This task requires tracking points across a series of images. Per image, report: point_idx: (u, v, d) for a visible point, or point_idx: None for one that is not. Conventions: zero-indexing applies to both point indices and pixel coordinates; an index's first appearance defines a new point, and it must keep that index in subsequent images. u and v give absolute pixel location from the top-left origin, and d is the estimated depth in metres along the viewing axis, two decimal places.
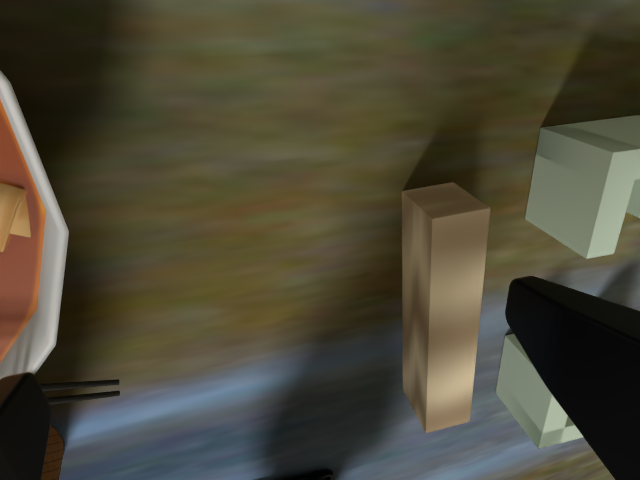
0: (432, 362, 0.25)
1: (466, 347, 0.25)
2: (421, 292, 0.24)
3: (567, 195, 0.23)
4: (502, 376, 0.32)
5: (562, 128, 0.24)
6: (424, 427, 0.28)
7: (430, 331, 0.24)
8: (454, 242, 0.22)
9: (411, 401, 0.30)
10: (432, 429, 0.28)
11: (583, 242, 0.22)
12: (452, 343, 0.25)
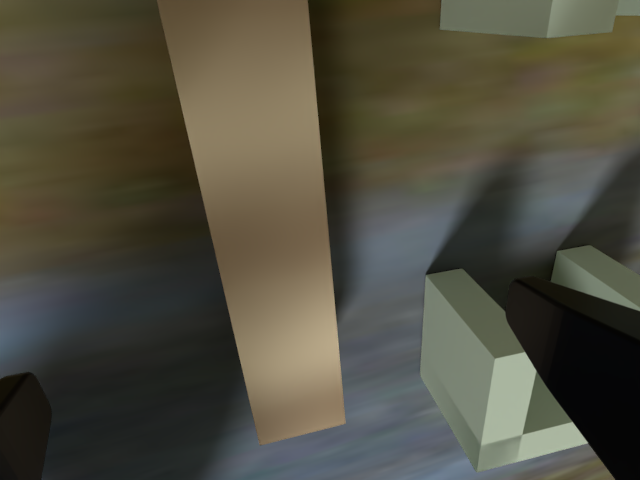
0: (237, 302, 0.12)
1: (308, 271, 0.12)
2: None
3: None
4: (426, 347, 0.19)
5: None
6: None
7: (213, 229, 0.11)
8: None
9: None
10: (272, 438, 0.15)
11: (540, 0, 0.09)
12: (272, 260, 0.12)
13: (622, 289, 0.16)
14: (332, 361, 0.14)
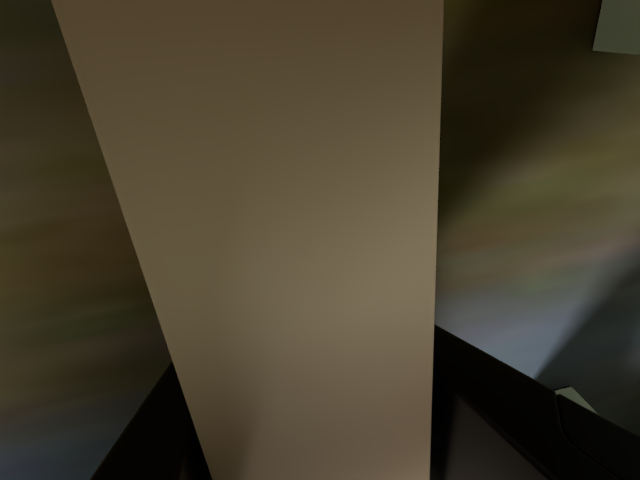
0: None
1: None
2: None
3: None
4: None
5: None
6: None
7: (212, 459, 0.06)
8: None
9: None
10: None
11: None
12: None
13: None
14: None
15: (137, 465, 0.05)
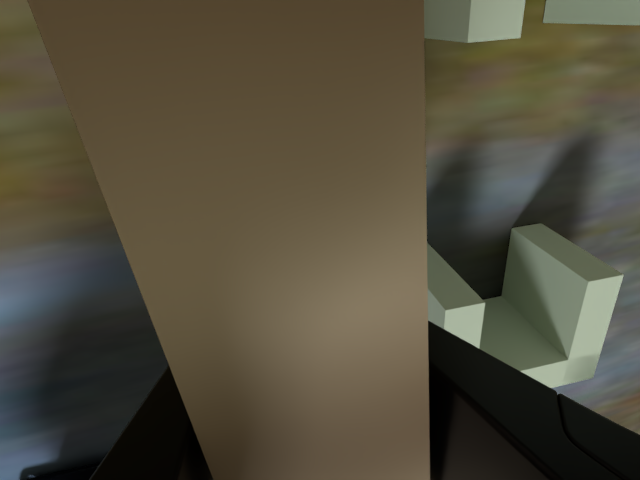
0: None
1: None
2: None
3: None
4: None
5: None
6: None
7: (212, 456, 0.06)
8: None
9: None
10: None
11: (462, 13, 0.12)
12: None
13: (561, 257, 0.19)
14: None
15: (136, 465, 0.05)
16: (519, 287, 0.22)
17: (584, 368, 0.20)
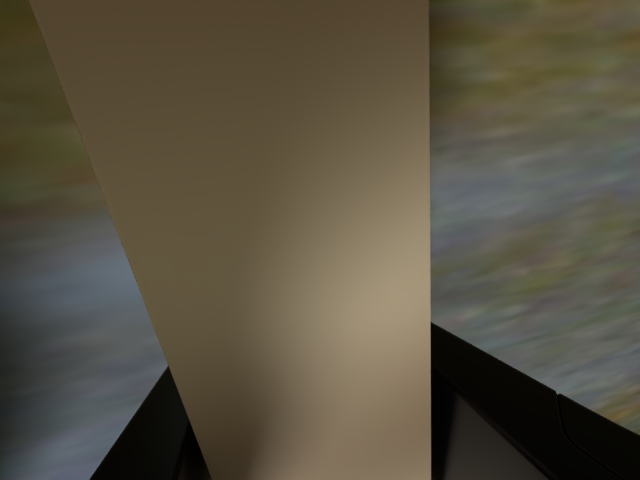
0: None
1: None
2: None
3: None
4: None
5: None
6: None
7: (211, 458, 0.06)
8: None
9: None
10: None
11: None
12: None
13: None
14: None
15: (136, 465, 0.05)
16: None
17: None
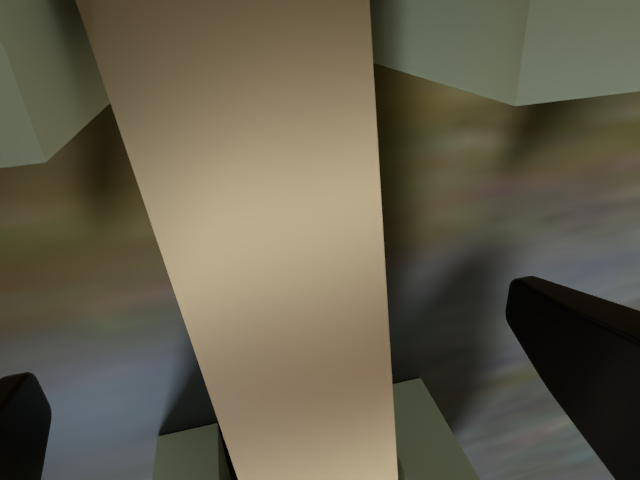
0: (250, 467, 0.08)
1: (359, 415, 0.08)
2: None
3: None
4: None
5: None
6: None
7: (209, 376, 0.07)
8: None
9: None
10: None
11: None
12: (305, 408, 0.08)
13: None
14: None
15: None
16: None
17: None
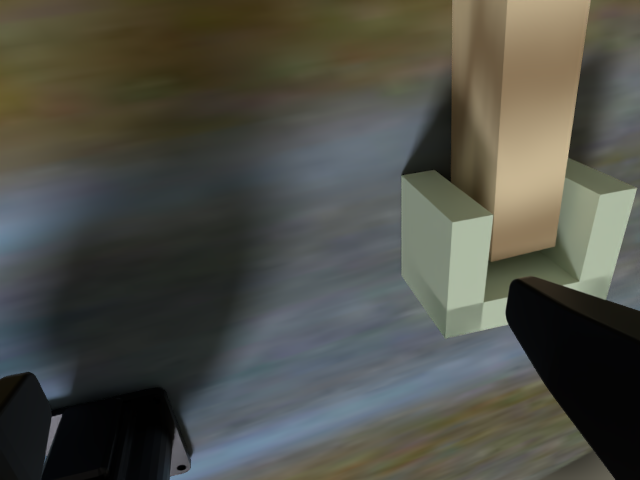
0: (506, 124, 0.16)
1: (560, 98, 0.16)
2: None
3: None
4: (404, 245, 0.22)
5: None
6: None
7: (506, 58, 0.15)
8: None
9: None
10: (501, 256, 0.19)
11: None
12: (538, 87, 0.16)
13: (572, 176, 0.18)
14: (558, 184, 0.18)
15: None
16: None
17: (596, 291, 0.19)
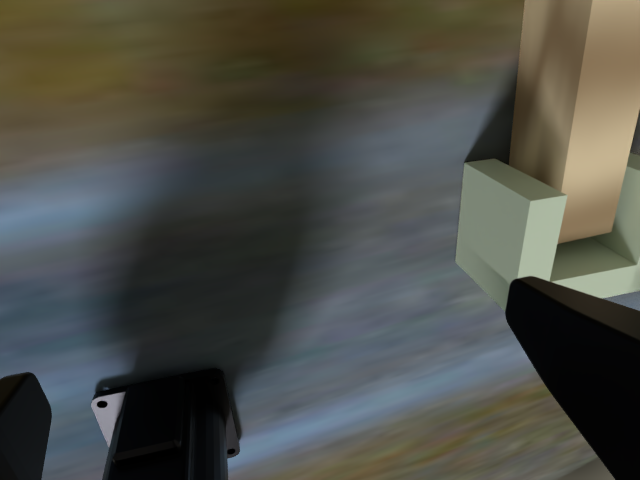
0: (580, 111, 0.17)
1: (630, 88, 0.17)
2: None
3: None
4: (462, 230, 0.22)
5: None
6: None
7: (586, 47, 0.16)
8: None
9: None
10: (562, 239, 0.20)
11: None
12: (612, 77, 0.17)
13: (631, 165, 0.20)
14: (620, 171, 0.19)
15: None
16: None
17: None
